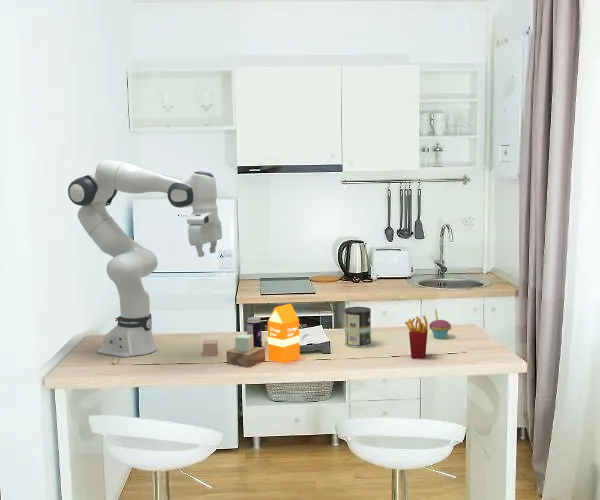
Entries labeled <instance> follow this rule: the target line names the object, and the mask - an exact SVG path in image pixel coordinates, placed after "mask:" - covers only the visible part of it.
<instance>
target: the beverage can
mask: <svg viewBox="0 0 600 500" xmlns="http://www.w3.org/2000/svg"><path fill="white" fill-rule="evenodd" d="M262 331H263V330H262V320H261V318H260V317H258V316H251V317H248V318H247V320H246V335H253V344H254V347H260V348H263V339H262V338H263V336H262V335H263V334H262Z"/></svg>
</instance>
